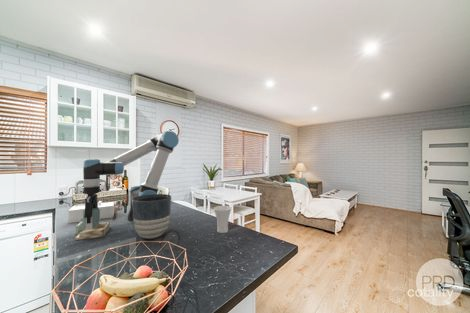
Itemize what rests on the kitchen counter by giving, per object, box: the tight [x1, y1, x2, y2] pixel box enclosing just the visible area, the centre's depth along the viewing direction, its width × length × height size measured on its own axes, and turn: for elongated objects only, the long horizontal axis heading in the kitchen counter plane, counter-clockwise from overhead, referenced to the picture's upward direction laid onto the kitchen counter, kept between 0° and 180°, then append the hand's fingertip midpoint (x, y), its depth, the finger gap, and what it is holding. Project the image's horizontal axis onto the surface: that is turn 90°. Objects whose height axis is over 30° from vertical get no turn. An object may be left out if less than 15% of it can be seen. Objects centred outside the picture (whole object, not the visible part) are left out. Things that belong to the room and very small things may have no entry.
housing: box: [74, 221, 111, 241], centre depth 109 cm, size 13×14×4 cm
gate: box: [75, 219, 85, 235], centre depth 113 cm, size 1×12×6 cm, turn 23°
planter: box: [132, 193, 172, 240], centre depth 105 cm, size 20×20×21 cm
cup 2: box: [213, 205, 232, 234], centre depth 113 cm, size 10×10×14 cm
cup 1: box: [82, 208, 101, 229], centre depth 109 cm, size 8×8×10 cm
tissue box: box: [67, 200, 115, 224], centre depth 139 cm, size 14×25×11 cm, turn 120°
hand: (91, 226), depth 109 cm, fingers closed on cup 1, 8 cm apart
